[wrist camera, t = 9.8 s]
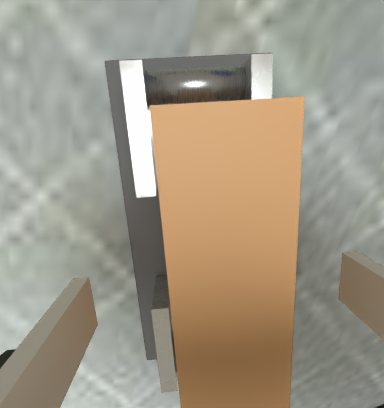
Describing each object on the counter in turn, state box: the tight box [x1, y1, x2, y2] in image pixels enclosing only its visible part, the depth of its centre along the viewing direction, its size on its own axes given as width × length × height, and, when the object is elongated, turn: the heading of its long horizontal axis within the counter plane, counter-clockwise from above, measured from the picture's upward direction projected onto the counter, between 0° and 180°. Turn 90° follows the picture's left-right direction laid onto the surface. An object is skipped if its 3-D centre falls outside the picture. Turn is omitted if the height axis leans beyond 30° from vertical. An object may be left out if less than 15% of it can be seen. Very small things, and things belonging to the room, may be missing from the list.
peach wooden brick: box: [150, 97, 304, 408], centre depth 13 cm, size 16×4×10 cm, turn 4°
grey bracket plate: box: [119, 53, 273, 393], centre depth 18 cm, size 23×8×5 cm, turn 4°
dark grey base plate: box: [105, 53, 270, 360], centre depth 20 cm, size 26×12×1 cm, turn 4°
